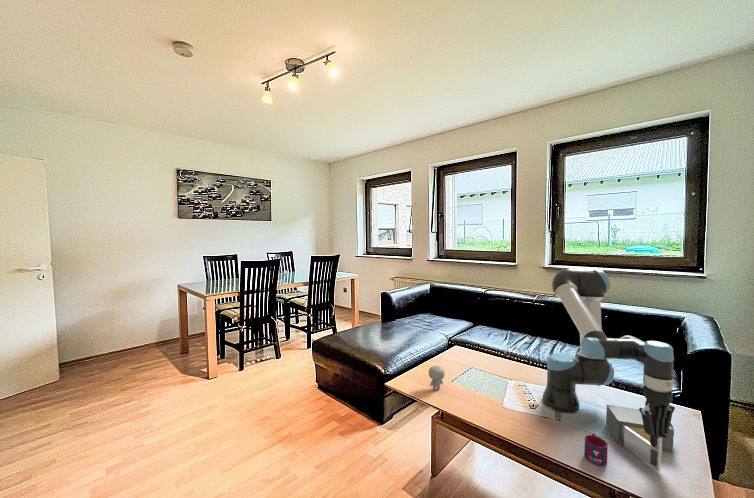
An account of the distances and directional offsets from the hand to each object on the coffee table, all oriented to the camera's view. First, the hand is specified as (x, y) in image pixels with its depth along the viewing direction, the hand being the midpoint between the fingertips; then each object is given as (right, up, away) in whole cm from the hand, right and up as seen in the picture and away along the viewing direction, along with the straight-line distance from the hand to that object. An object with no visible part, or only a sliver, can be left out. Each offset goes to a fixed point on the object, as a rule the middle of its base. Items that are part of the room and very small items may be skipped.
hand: (655, 453), depth 108 cm
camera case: (+7, -4, +14) cm, 16 cm away
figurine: (-66, -2, +54) cm, 85 cm away
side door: (-3, -4, +4) cm, 6 cm away
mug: (-18, -5, +5) cm, 19 cm away
